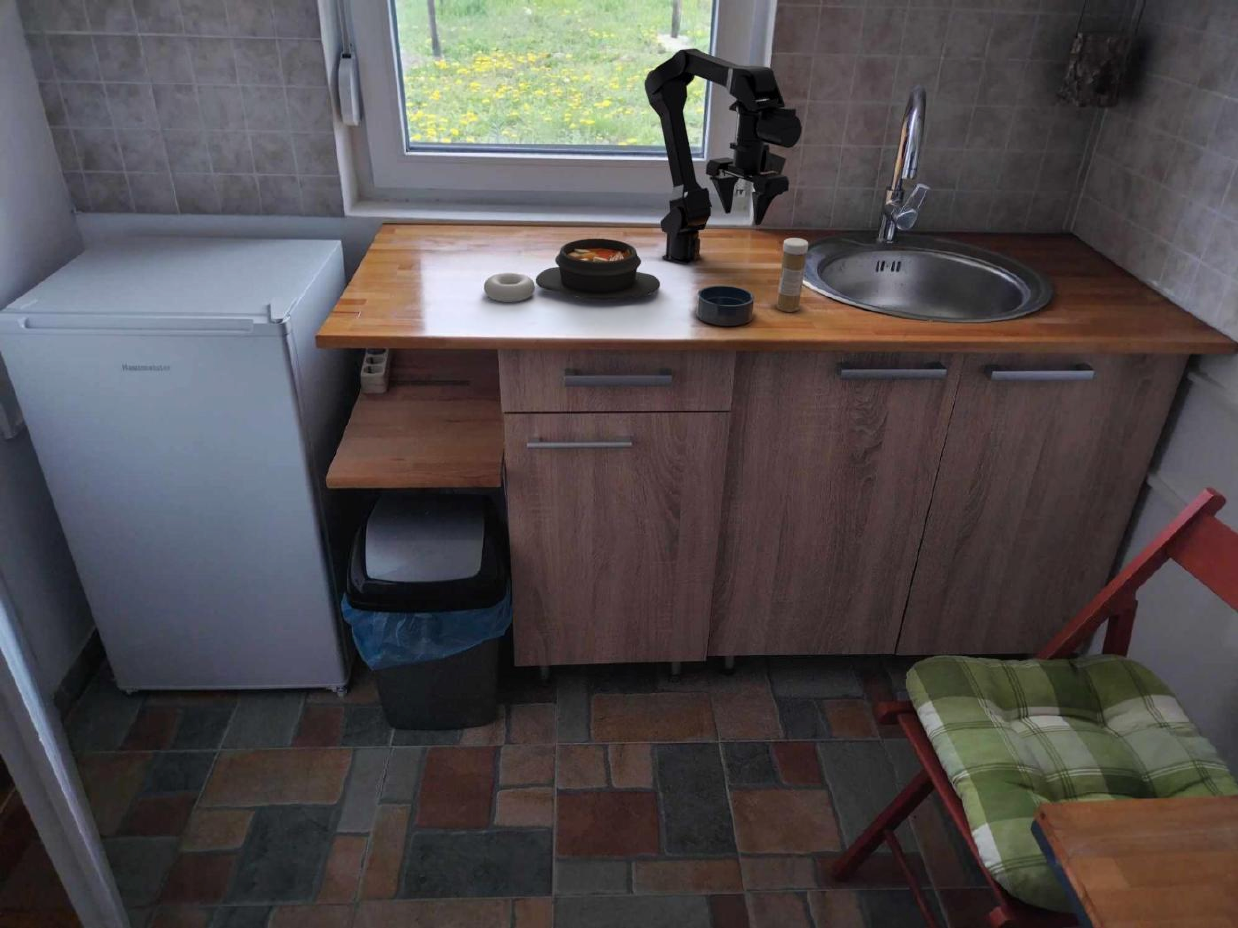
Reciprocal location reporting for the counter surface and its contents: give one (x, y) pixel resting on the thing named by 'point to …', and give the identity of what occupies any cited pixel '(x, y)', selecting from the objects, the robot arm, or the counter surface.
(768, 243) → the counter surface
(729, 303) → the bowl
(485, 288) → the donut
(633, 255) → the casserole
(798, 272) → the sprinkles bottle
